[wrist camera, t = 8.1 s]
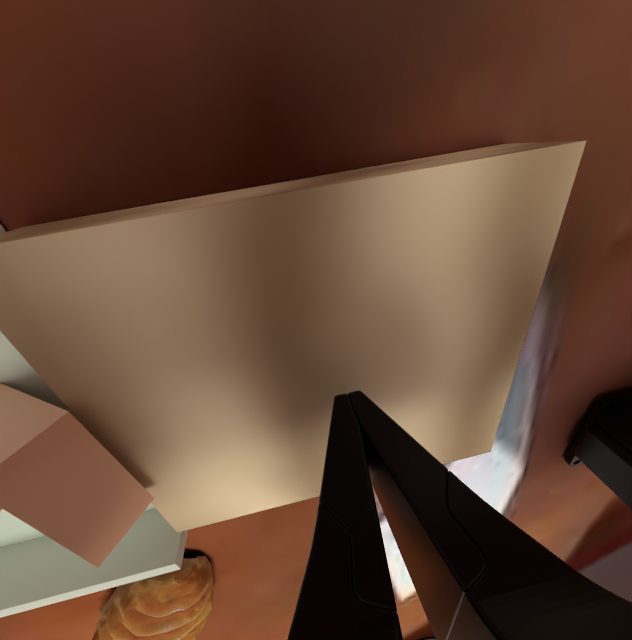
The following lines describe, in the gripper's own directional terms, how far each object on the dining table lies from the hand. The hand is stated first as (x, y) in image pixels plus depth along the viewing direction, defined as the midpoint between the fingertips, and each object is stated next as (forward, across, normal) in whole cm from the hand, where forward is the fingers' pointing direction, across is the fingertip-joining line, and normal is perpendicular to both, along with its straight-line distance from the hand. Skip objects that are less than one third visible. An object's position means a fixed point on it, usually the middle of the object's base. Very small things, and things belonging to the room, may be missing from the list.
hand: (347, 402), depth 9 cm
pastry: (+3, +14, +17) cm, 22 cm away
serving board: (+3, +1, 0) cm, 3 cm away
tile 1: (+1, +9, 0) cm, 9 cm away
